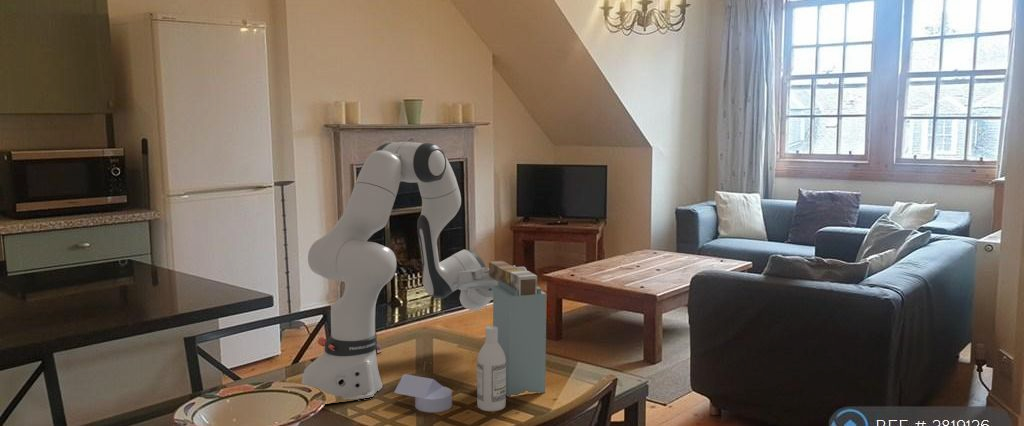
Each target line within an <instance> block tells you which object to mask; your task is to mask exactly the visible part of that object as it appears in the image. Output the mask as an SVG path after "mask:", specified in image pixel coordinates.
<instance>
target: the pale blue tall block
mask: <svg viewBox="0 0 1024 426" xmlns="http://www.w3.org/2000/svg"><path fill="white" fill-rule="evenodd" d="M492 301H493V302H492V307H493V308H492V326H496V327H497V328H498V343H499V345H500V346H501V348H502V349H503V351H504V354H505V358H506V396H507V395H508V396H511V395H518V394H520V393H524V392H525V391H528V392H540V393H539V394H544V393H546V371H547V370H546V369H547V367H546V358H547V357H546V356H547V352H546V350H547V347H546V345H547V292H544V291H542V288H541V287H539V286H538V285H537V294H536V295H524V296H518V290H517V289H515V288H513V287H512V286H510V285H509V284H507V283H505V282H504V281H502V280H499V281H498V286H493V299H492ZM508 396H507V397H508Z"/></svg>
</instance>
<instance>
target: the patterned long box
mask: <svg viewBox="0 0 1024 426" xmlns="http://www.w3.org/2000/svg"><path fill="white" fill-rule="evenodd" d="M488 269H489V276H490V277H492V278H493V279H495V280H496V281H499V280H502V281H504V282H505V283H507V284H509V285H510V286H512V287H513V288H515V289H517V290H518V296H524V295H536V294H537V286H538V275H536V274H535V273H533V272H531V271H529V270H527V271H524V270H522V269H517V268H515V267H513V265H511V264H509V263H507V262H505V261H503V260H495V261H489V262H488Z"/></svg>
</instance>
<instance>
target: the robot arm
mask: <svg viewBox="0 0 1024 426" xmlns="http://www.w3.org/2000/svg"><path fill="white" fill-rule="evenodd" d="M443 151H444V150H442V148H441V147H439V145H436V144H434V143H430V142H425V143H422V142H414V141H413V142H412V141H399V142H394V141H393V142H386V143H383V144H382V145H380V146H378V147H377V149H376V150H374V151H372V152H371V153H369V155H368V156H367V158H366V160H365V161H364V163H363V165H362V167H361V169H360V171H359V173H358V175H357V178H356V181H355V183H354V186H353V190H352V192H351V195H350V197H349V199H348V201H347V205H346V207H345V209H344V212H343V213H342V215H341V216H340V218H339V219H338V221H337V222H336V223H335V225H334V226H333V227H332V228H331V229H330V230H329V231H328V232H327V233H326V234H325V235H323V236H322V237H320V238H318V239H317V240H316V241H314V242H313V243H312V244H311V246H310V248H309V250H308V255H307V263H308V266H309V268H310V270H311V271H312V272H313V273H314V274H316V275H319V276H320V277H322V278H324V279H327V280H332V281H337V282H344V290H343V294H342V296H341V297H339V298H338V299H336V300H335V301H334V302H333V304H332V305H331V307H330V324H331V325H330V331H331V332H330V336H329V338H327V339H326V338H324V337H323V336H322V337H318V339H317V344H318V345H319V346H321V347H324V351H323V352H322V353H321V354H320V355H318V357H317V358H316V359H314V360H313V361H312V362H311V363H310V364H308V366H307V367H305V368H304V370H303V375H302V379H301V385H302V384H305V385H308V386H312V387H315V388H319V389H321V390H322V391H324V392H325V393H328V394H332V395H336V396H341V397H342V398H343V399H359V398H369V397H373V396H374V397H375V395H374V394H376V393H377V391H378V392H380V391H381V389H382V388H383V383H382V380H381V377H380V371H379V368H378V367H379V366H378V358H377V354H378V353H377V344H378V335H377V333H376V306H377V305H376V304H377V300H378V298H379V295H380V293H381V290H382V289H383V288H384V286H386V285H387V284H388V283H389V282H391V280H392V279H393V278H394V276H395V274H396V271H397V267H398V266H397V265H398V264H397V257H396V255H395V252H394V251H393V250H392V249H391V248H390V247H387V246H385V245H382V244H381V243H380V244H379V243H378V242H373V241H368V240H369V239H371V238H372V236H373V235H374V234H375V233H377V232H378V231H380V230H382V229H384V228H385V227H386V225H387V224H388V222H389V220H390V216H391V213H392V210H393V207H394V204H395V201H396V197H397V195H398V192H399V188H400V183H401V182H405V183H417V185H418V190H419V193H420V197H421V211H420V215H419V217H418V218H417V220H416V221H417V222H416V223H417V225H416V227H417V237H418V245H419V253H420V260H421V267H422V269H421V270H422V276H421V280H422V285H423V287H424V291H425V292H426V293H427V295H429V296H430V297H433V298H436V299H442V300H443V299H445V298H447V297H448V296H449V295H451V294H452V293H453V292H455V291H457V290H459V291H460V294H459V301H460V304H461V306H462V307H463V308H465V309H467V310H470V311H478V310H481V309H483V308H484V307H485V306H487V305H488V304H489V303H490V302H491V301H493V286H498V281H496V280H495V279H493V278H492V277H490V276H489V267H487V266H486V265H485V263H484V260H483V259H482V258H481V256H480V255H479V254H478V253H476V252H474V251H473V250H470V249H465V248H463V249H462V250H460V251H458V252H455V253H454V254H451V256H449V257H447V258H445V259H444V260H442V261H440V259H439V251H438V244H437V243H438V238H439V236H440V234H441V232H442V230H443V229H444V228H445V227H446V226H447V225H448V224H449V223H450V222H451V220H453V219H454V218H455V216H457V213H458V212H459V211H460V208H461V206H462V196H461V195H462V194H461V191H460V188H459V185H458V181H457V177H456V175H455V173H454V170H453V167H452V165H451V163H450V162H449V160H448V158H447V157H446V155H445V152H443ZM512 266H513V267H515V268H517V269H522V270H524V271H528V270H527V268H526V267H525V266H516V265H515V264H514V265H512ZM374 397H373V398H374Z"/></svg>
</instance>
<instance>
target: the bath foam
mask: <svg viewBox="0 0 1024 426" xmlns="http://www.w3.org/2000/svg"><path fill="white" fill-rule="evenodd" d="M476 375H477V376H476V379H477V380H476V387H477V388H476V389H477V390H476V398H477V402H476V405H477V408H478V409H479V410H481V411H484V412H490V413H491V412H498V411H502V410H503V409H504V408H505V407H506V402H507V401H506V400H507V397H506V396H507V395H506V358H505V354H504V351H503V349H502V348H501V346H500V345H499V343H498V328H497V327H496V326H493V325H488V326H486V327H485V342H484V344H483V345H482V346H481V347H480V350H479V352H478V355H477V359H476Z"/></svg>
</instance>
